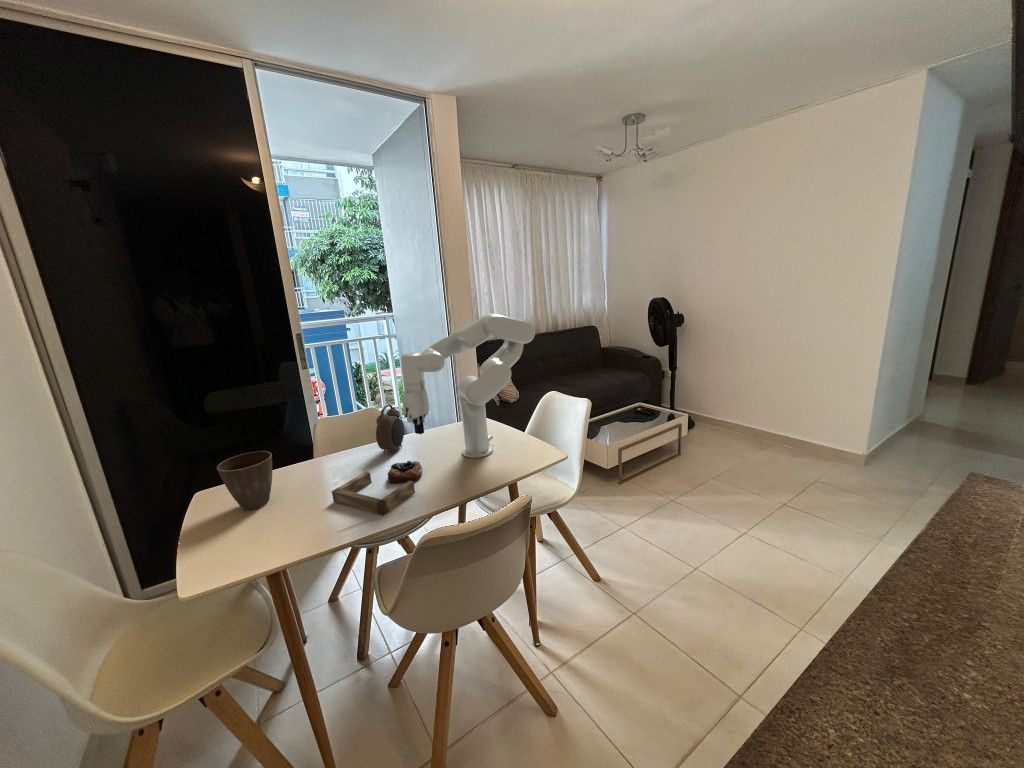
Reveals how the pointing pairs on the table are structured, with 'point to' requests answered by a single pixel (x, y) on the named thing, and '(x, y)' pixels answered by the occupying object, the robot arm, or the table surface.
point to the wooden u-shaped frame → (374, 505)
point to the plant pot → (248, 478)
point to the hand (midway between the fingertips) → (419, 433)
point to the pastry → (404, 472)
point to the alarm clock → (389, 429)
